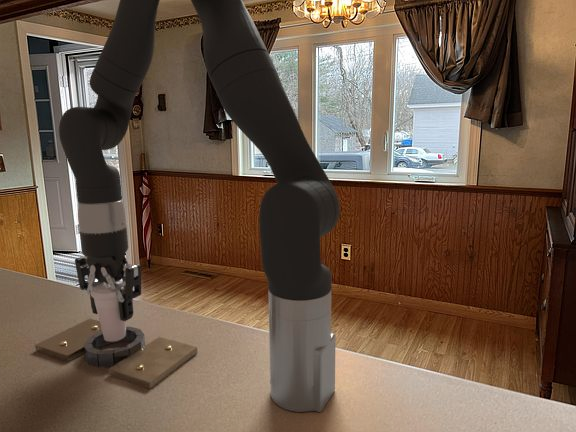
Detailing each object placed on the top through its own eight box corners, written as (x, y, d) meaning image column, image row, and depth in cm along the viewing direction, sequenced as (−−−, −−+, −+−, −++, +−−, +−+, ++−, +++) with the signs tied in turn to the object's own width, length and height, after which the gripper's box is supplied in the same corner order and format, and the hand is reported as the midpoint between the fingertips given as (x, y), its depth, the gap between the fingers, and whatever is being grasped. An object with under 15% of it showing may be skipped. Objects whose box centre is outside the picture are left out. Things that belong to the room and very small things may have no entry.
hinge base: (197, 352, 78) (196, 340, 77) (150, 389, 67) (148, 374, 66) (90, 323, 90) (89, 312, 89) (35, 350, 79) (34, 338, 78)
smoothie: (88, 340, 77) (79, 266, 74) (117, 325, 82) (110, 256, 79) (112, 348, 74) (104, 272, 71) (141, 332, 79) (134, 261, 76)
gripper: (150, 225, 74) (157, 314, 77) (92, 218, 80) (101, 301, 83) (116, 235, 67) (125, 332, 71) (55, 226, 73) (67, 316, 77)
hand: (112, 315), depth 77 cm, fingers closed on smoothie, 6 cm apart
